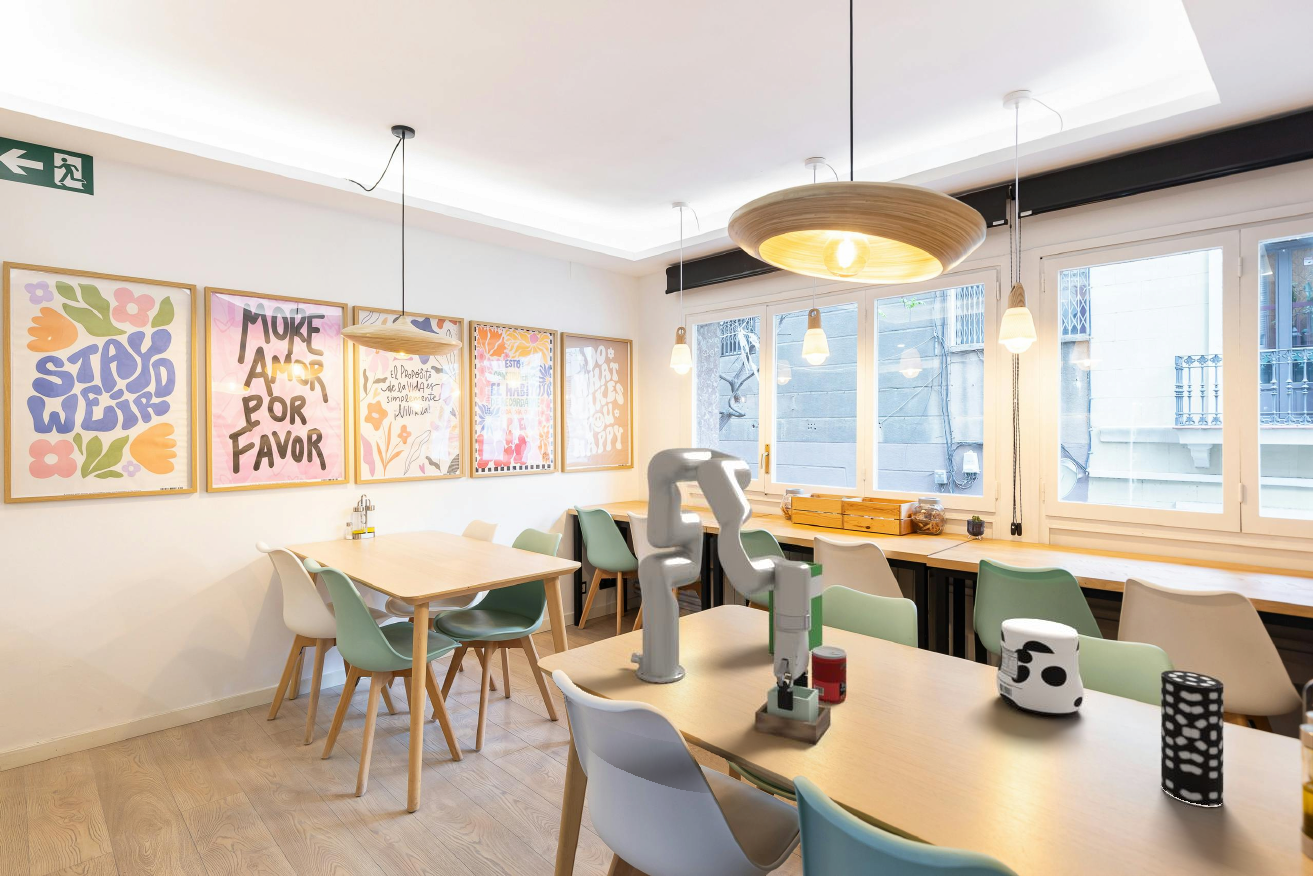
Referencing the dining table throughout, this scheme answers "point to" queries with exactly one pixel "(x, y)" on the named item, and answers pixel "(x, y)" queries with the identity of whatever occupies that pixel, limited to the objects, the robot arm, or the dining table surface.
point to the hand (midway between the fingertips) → (793, 701)
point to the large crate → (793, 725)
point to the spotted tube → (1192, 737)
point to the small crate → (795, 704)
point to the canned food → (829, 673)
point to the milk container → (1040, 667)
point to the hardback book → (816, 610)
